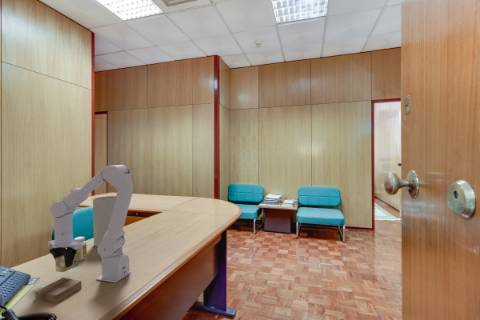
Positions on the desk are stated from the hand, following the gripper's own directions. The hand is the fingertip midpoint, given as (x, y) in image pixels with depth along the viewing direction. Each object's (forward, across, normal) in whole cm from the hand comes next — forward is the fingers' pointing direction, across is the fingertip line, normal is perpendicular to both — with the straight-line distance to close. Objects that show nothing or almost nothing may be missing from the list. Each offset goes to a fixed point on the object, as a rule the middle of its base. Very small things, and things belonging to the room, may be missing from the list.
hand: (64, 265), depth 92 cm
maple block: (+1, 0, 0) cm, 1 cm away
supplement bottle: (+5, -10, +15) cm, 19 cm away
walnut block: (+5, +9, -9) cm, 14 cm away
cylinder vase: (+5, -13, +34) cm, 37 cm away
